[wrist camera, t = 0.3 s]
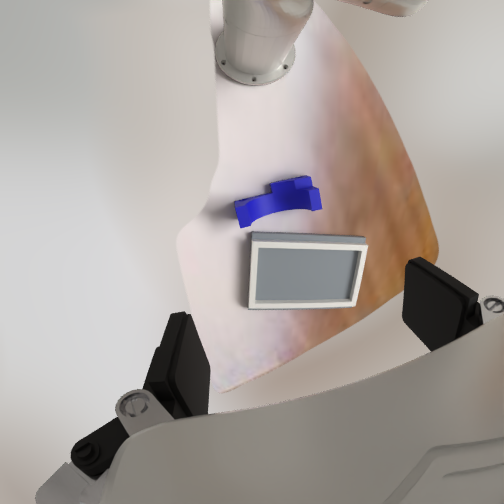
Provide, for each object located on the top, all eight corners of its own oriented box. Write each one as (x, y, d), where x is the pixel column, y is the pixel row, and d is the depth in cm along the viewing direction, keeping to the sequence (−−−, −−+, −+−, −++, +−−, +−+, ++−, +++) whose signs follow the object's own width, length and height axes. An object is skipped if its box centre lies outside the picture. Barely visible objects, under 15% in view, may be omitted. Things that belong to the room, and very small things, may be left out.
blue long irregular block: (305, 175, 42) (316, 178, 37) (310, 202, 44) (322, 208, 38) (232, 192, 42) (232, 197, 37) (239, 219, 44) (240, 228, 38)
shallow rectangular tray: (251, 231, 44) (252, 235, 42) (363, 236, 46) (368, 239, 44) (247, 306, 49) (248, 313, 47) (349, 305, 51) (354, 310, 49)
